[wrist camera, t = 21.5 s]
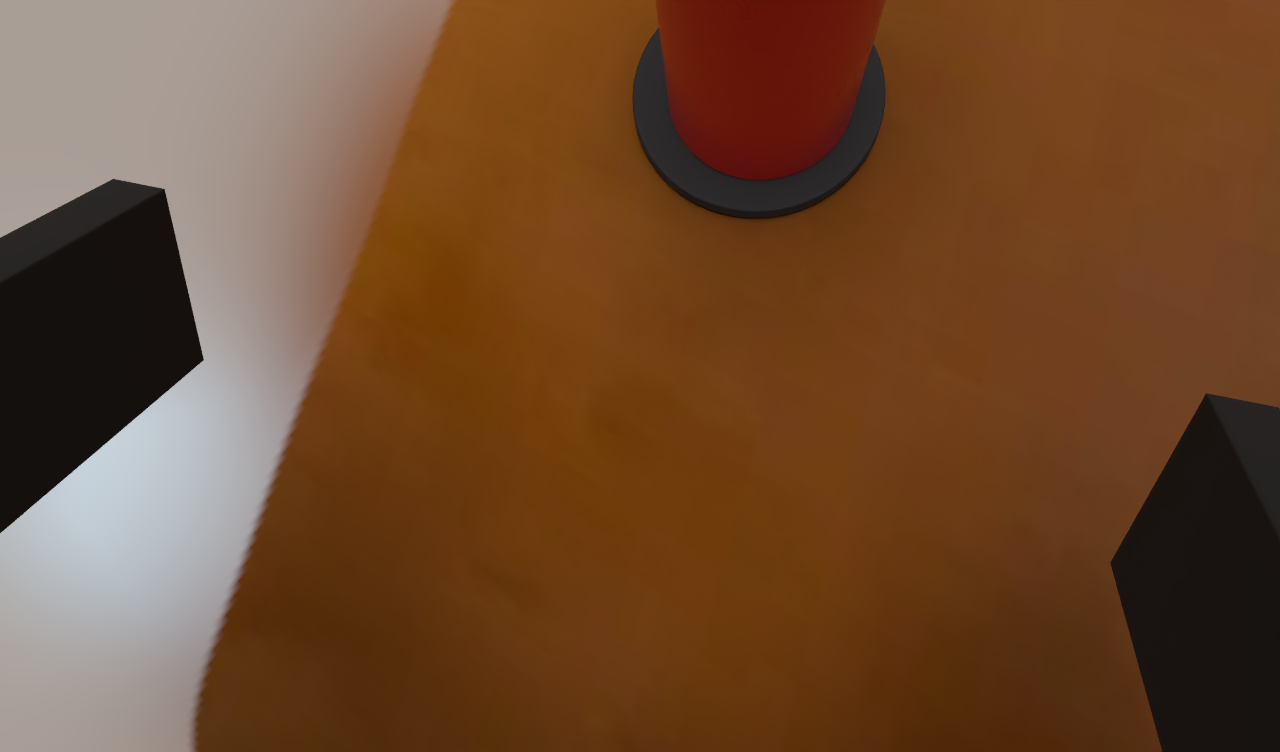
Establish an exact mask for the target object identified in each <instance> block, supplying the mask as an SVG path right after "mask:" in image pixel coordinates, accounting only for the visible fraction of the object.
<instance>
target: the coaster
mask: <svg viewBox="0 0 1280 752" xmlns="http://www.w3.org/2000/svg"><path fill="white" fill-rule="evenodd" d="M884 107H885V81H884V73H883V69H882V65H881V61H880V58H879V56H878V53H877V51H876V49H875V46H874V44H873V45H872V48H871V52H870V55H869V59H868V62H867V65H866V69H865V72H864V75H863V79H862V82H861V86H860V89H859V92H858V96H857V99H856V102H855V106H854V109H853V113H852V116H851V118H850V121H849V124H848V126H847V128H846V130H845V132H844V134H843V136H842V137H841V138H840V140H839V141H838V143H837V144H836V145H835V146H834V147H833V149H832V150H831V151H830V152H829V153H828V154H827V155H825V156H824V157H823V158H822V159H821V160H819V161H818V162H817V163H815V164H813V165H812V166H810V167H809V168H807V169H805V170H802V171H800V172H798V173H796V174H793V175H790V176H787V177H782V178H777V179H770V180H748V179H742V178H736V177H733V176H730V175H726V174H724V173H721V172H719V171H717V170H715V169H713V168H711V167H710V166H708V165H706V164H705V163H703V162H702V161H701V160H699V159H698V158H697V157H696V156H695V155H694V154H693V153H692V152H691V151H690V150H689V149H688V148H687V147H686V146H685V144H684V143H683V141H682V140H681V138H680V137H679V135H678V133H677V131H676V129H675V127H674V124H673V121H672V118H671V114H670V109H669V102H668V94H667V87H666V79H665V71H664V63H663V55H662V47H661V39H660V31H659V28H658V30H657V31H656V32H655V34H654V35H653V36H652V38H651V39H650V41H649V43H648V44H647V46H646V48H645V50H644V52H643V54H642V56H641V59H640V62H639V64H638V67H637V71H636V75H635V79H634V87H633V112H634V118H635V123H636V128H637V133H638V136H639V139H640V142H641V145H642V147H643V149H644V151H645V153H646V155H647V157H648V159H649V161H650V163H651V164H652V165H653V167H654V168H655V170H656V171H657V173H658V174H659V175H660V176H661V177H662V178H663V179H664V180H665V181H666V182H667V184H668V185H670V186H671V187H672V188H673V189H675V190H676V191H677V192H678V193H679V194H681V195H682V196H684V197H685V198H687V199H689V200H690V201H692V202H693V203H696V204H698V205H700V206H702V207H704V208H706V209H709V210H712V211H715V212H718V213H722V214H725V215H731V216H737V217H748V218H763V217H775V216H780V215H785V214H790V213H793V212H796V211H799V210H802V209H805V208H807V207H809V206H812V205H814V204H816V203H818V202H820V201H822V200H823V199H825V198H826V197H828V196H830V195H831V194H833V193H834V192H836V191H837V190H838V189H839V188H840V187H841V186H843V185H844V184H845V183H846V182H847V181H848V180H849V179H850V178H851V177H852V176H853V175H854V174H855V173H856V171H857V170H858V169H859V168H860V166H861V165H862V163H863V162H864V160H865V159H866V158H867V156H868V154H869V152H870V150H871V148H872V146H873V144H874V142H875V139H876V137H877V134H878V131H879V128H880V125H881V122H882V118H883V112H884Z"/></svg>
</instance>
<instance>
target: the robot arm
mask: <svg viewBox="0 0 1280 752" xmlns="http://www.w3.org/2000/svg"><path fill="white" fill-rule="evenodd" d="M203 360H204V359H203V355H202V351H201V346H200V342H199V337H198V333H197V329H196V324H195V321H194V316H193V311H192V307H191V302H190V298H189V294H188V289H187V285H186V281H185V277H184V273H183V268H182V264H181V259H180V255H179V250H178V246H177V241H176V237H175V233H174V228H173V224H172V220H171V215H170V211H169V207H168V203H167V198H166V194H165V189H162V188H156V187H151V186H146V185H141V184H136V183H131V182H126V181H121V180H115V179H112V180H110V181H109V182H107V183H105V184H103V185H101V186H99V187H97V188H95V189H93V190H91V191H89V192H87V193H85V194H84V195H82V196H80V197H78V198H76V199H74V200H72V201H70V202H68V203H67V204H64V205H62V206H61V207H59V208H57V209H55V210H53V211H51V212H49V213H47V214H45V215H43V216H41V217H40V218H37V219H36V220H34V221H32V222H30V223H28V224H26V225H24V226H22V227H20V228H18V229H16V230H14V231H12V232H11V233H9V234H7V235H5V236H3V237H1V238H0V533H1V532H2V531H3V530H5V529H6V528H7V527H8V526H9V525H10V524H12V523H13V522H14V521H15V520H16V519H17V518H19V517H20V516H21V515H22V514H23V513H24V512H26V511H27V510H28V509H29V508H30V507H31V506H33V505H34V504H35V503H36V502H37V501H39V500H40V499H41V498H42V497H43V496H44V495H46V494H47V493H48V492H49V491H50V490H51V489H53V488H54V487H55V486H56V485H57V484H58V483H60V482H61V481H62V480H63V479H64V478H66V477H67V476H68V475H69V474H70V473H71V472H73V471H74V470H75V469H76V468H77V467H78V466H79V465H81V464H82V463H83V462H84V461H85V460H87V459H88V458H89V457H90V456H91V455H93V454H94V453H95V452H96V451H97V450H98V449H100V448H101V447H102V446H103V445H104V444H105V443H107V442H108V441H109V440H110V439H111V438H113V437H114V436H115V435H116V434H117V433H118V432H119V431H121V430H122V429H123V428H124V427H125V426H127V425H128V424H129V423H130V422H131V421H132V420H134V419H135V418H136V417H137V416H138V415H139V414H141V413H142V412H143V411H144V410H145V409H146V408H148V407H149V406H150V405H151V404H152V403H154V402H155V401H156V400H157V399H158V398H159V397H161V396H162V395H163V394H164V393H165V392H166V391H168V390H169V389H170V388H171V387H172V386H174V385H175V384H176V383H177V382H178V381H180V380H181V379H182V378H183V377H184V376H185V375H187V374H188V373H189V372H190V371H191V370H192V369H194V368H195V367H196V366H197V365H198V364H199V363H200V362H202V361H203ZM1111 567H1112V570H1113V574H1114V578H1115V581H1116V585H1117V588H1118V592H1119V596H1120V599H1121V603H1122V607H1123V610H1124V614H1125V617H1126V621H1127V625H1128V628H1129V632H1130V636H1131V639H1132V643H1133V646H1134V650H1135V654H1136V657H1137V661H1138V665H1139V668H1140V672H1141V676H1142V679H1143V683H1144V686H1145V690H1146V694H1147V697H1148V701H1149V705H1150V708H1151V712H1152V715H1153V719H1154V723H1155V726H1156V730H1157V734H1158V737H1159V741H1160V744H1161V748H1162V752H1280V409H1279V408H1278V407H1273V406H1267V405H1262V404H1257V403H1252V402H1247V401H1242V400H1237V399H1232V398H1227V397H1222V396H1217V395H1211V394H1206V395H1205V397H1204V398H1203V400H1202V402H1201V404H1200V405H1199V407H1198V409H1197V411H1196V413H1195V414H1194V416H1193V418H1192V420H1191V421H1190V423H1189V425H1188V427H1187V428H1186V430H1185V432H1184V434H1183V435H1182V437H1181V439H1180V441H1179V443H1178V444H1177V446H1176V448H1175V450H1174V451H1173V453H1172V455H1171V457H1170V458H1169V460H1168V462H1167V464H1166V466H1165V467H1164V469H1163V471H1162V473H1161V474H1160V476H1159V478H1158V480H1157V481H1156V483H1155V485H1154V487H1153V488H1152V490H1151V492H1150V494H1149V496H1148V497H1147V499H1146V501H1145V503H1144V504H1143V506H1142V508H1141V510H1140V511H1139V513H1138V515H1137V517H1136V518H1135V520H1134V522H1133V524H1132V526H1131V527H1130V529H1129V531H1128V533H1127V534H1126V536H1125V538H1124V540H1123V541H1122V543H1121V545H1120V547H1119V549H1118V550H1117V552H1116V554H1115V556H1114V557H1113V559H1112V561H1111Z"/></svg>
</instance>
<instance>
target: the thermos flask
mask: <svg viewBox="0 0 1280 752" xmlns="http://www.w3.org/2000/svg"><path fill="white" fill-rule="evenodd" d="M885 1H886V0H656V7H657V15H658V23H659V31H660V39H661V47H662V55H663V63H664V71H665V79H666V87H667V94H668V102H669V109H670V114H671V118H672V121H673V124H674V127H675V129H676V131H677V133H678V135H679V137H680V138H681V140H682V141H683V143H684V144H685V146H686V147H687V148H688V149H689V150H690V151H691V152H692V153H693V154H694V155H695V156H696V157H697V158H698V159H699V160H701V161H702V162H703V163H705V164H706V165H708V166H710V167H711V168H713V169H715V170H717V171H719V172H721V173H724V174H726V175H730V176H733V177H736V178H742V179H748V180H770V179H777V178H782V177H787V176H790V175H793V174H796V173H798V172H800V171H802V170H805V169H807V168H809V167H810V166H812V165H813V164H815V163H817V162H818V161H819V160H821V159H822V158H823V157H824V156H825V155H827V154H828V153H829V152H830V151H831V150H832V149H833V147H834V146H835V145H836V144H837V143H838V141H839V140H840V138H841V137H842V136H843V134H844V132H845V130H846V128H847V126H848V124H849V121H850V118H851V116H852V113H853V109H854V106H855V102H856V99H857V96H858V92H859V89H860V86H861V82H862V79H863V75H864V72H865V69H866V65H867V62H868V59H869V55H870V52H871V48H872V45H873V42H874V38H875V35H876V32H877V28H878V25H879V21H880V18H881V15H882V11H883V8H884V5H885Z"/></svg>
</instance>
